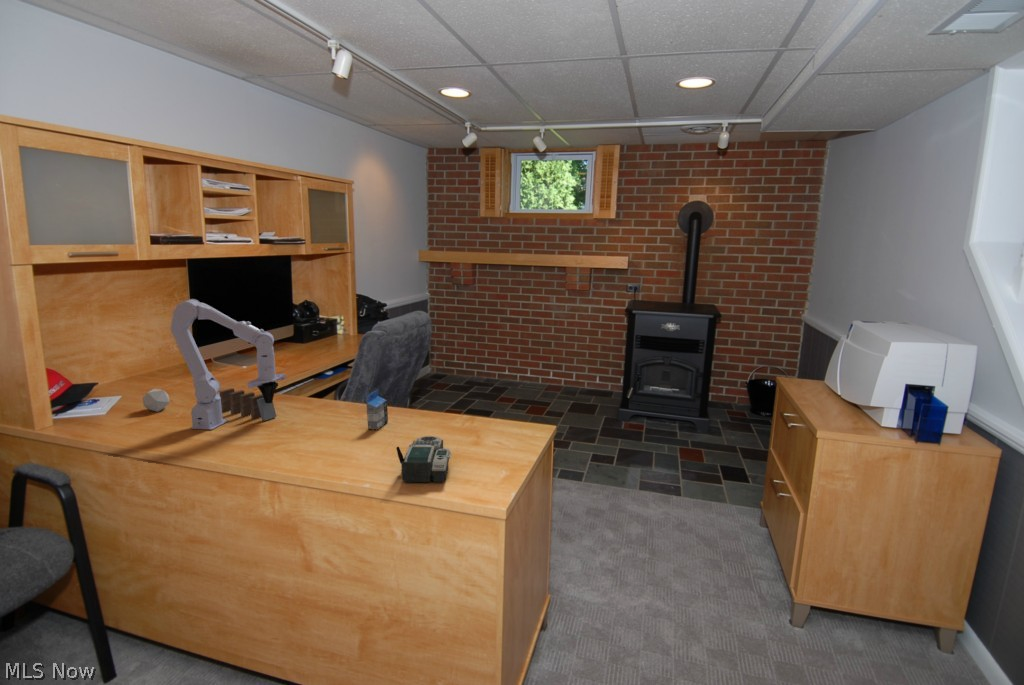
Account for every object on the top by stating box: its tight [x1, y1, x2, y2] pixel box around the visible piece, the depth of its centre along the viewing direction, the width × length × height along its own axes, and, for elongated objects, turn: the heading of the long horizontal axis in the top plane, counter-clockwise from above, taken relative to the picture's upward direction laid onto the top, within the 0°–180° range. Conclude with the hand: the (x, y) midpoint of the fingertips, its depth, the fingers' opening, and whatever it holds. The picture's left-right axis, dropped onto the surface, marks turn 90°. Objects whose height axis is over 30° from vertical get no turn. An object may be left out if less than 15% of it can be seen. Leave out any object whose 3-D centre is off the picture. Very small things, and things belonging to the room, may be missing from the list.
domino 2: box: [229, 389, 245, 415], centre depth 199 cm, size 2×5×8 cm, turn 155°
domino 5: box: [257, 398, 277, 422], centre depth 193 cm, size 2×5×8 cm, turn 155°
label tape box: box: [365, 389, 389, 430], centre depth 187 cm, size 9×4×12 cm, turn 168°
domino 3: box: [240, 391, 256, 418], centre depth 197 cm, size 2×5×8 cm, turn 155°
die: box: [142, 388, 171, 413], centre depth 200 cm, size 8×9×10 cm
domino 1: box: [218, 387, 235, 413], centre depth 201 cm, size 2×5×8 cm, turn 155°
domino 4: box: [250, 393, 264, 420], centre depth 195 cm, size 2×5×8 cm, turn 155°
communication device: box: [396, 435, 452, 483], centre depth 157 cm, size 14×28×10 cm, turn 2°
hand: (268, 402), depth 192 cm, fingers closed
